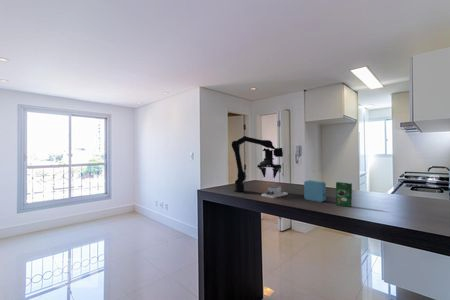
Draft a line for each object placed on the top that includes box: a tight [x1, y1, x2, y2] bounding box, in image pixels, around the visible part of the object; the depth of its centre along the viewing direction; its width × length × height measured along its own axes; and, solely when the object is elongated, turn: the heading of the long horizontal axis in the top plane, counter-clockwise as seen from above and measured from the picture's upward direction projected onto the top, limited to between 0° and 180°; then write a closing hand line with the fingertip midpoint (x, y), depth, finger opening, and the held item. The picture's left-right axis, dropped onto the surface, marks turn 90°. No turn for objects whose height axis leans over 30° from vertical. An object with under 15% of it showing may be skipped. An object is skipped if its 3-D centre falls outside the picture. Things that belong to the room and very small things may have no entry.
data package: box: [303, 179, 327, 203], centre depth 141 cm, size 12×4×12 cm, turn 42°
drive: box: [267, 185, 282, 195], centre depth 158 cm, size 5×10×5 cm, turn 141°
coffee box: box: [335, 181, 353, 208], centre depth 126 cm, size 8×3×13 cm, turn 54°
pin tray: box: [261, 188, 289, 199], centre depth 158 cm, size 10×17×3 cm, turn 131°
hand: (269, 177), depth 170 cm, fingers open, 9 cm apart
